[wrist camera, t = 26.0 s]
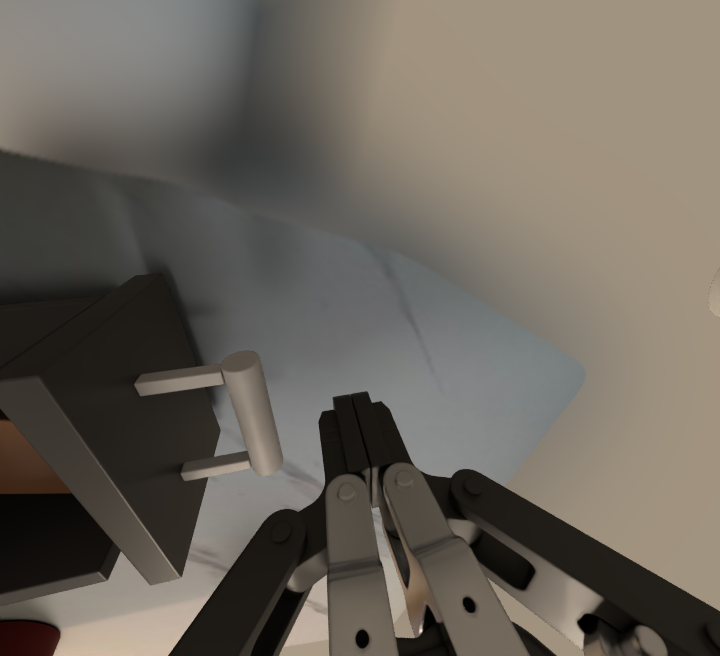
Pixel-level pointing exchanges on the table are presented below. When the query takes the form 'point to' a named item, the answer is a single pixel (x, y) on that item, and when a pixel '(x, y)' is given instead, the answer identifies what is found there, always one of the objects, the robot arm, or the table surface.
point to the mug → (27, 639)
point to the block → (23, 465)
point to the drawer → (116, 436)
